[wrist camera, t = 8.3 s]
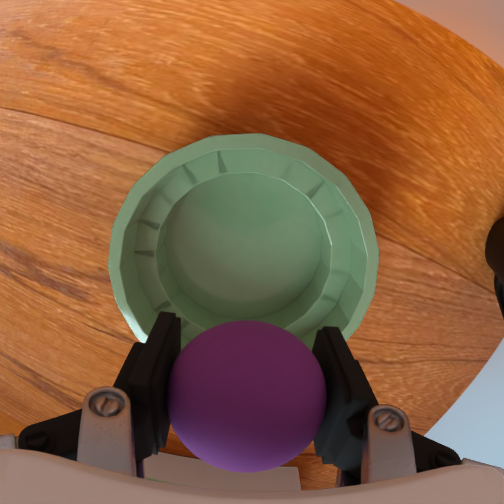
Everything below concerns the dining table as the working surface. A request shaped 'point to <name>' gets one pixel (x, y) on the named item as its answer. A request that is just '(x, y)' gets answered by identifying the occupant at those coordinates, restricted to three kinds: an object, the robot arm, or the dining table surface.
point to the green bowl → (244, 240)
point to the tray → (218, 475)
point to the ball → (246, 396)
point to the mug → (497, 259)
